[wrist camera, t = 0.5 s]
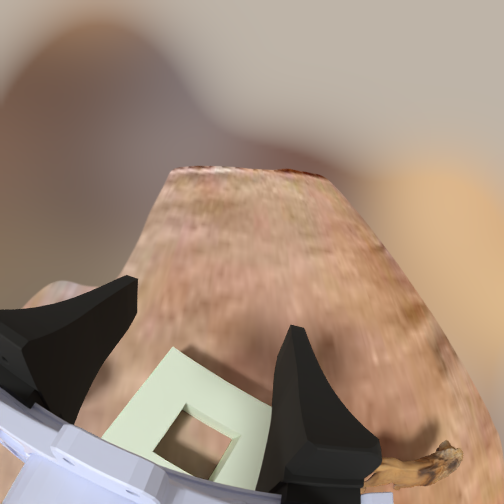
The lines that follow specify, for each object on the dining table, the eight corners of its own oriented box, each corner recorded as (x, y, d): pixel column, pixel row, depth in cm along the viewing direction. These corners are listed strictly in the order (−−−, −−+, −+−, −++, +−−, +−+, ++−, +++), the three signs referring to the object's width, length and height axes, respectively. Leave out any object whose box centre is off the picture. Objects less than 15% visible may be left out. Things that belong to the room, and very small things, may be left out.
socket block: (224, 534, 18) (233, 539, 16) (92, 458, 19) (86, 455, 17) (282, 425, 28) (295, 419, 26) (169, 358, 29) (172, 346, 27)
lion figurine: (414, 452, 29) (466, 432, 23) (417, 486, 25) (470, 471, 19) (325, 461, 26) (379, 447, 20) (325, 504, 22) (381, 501, 16)
